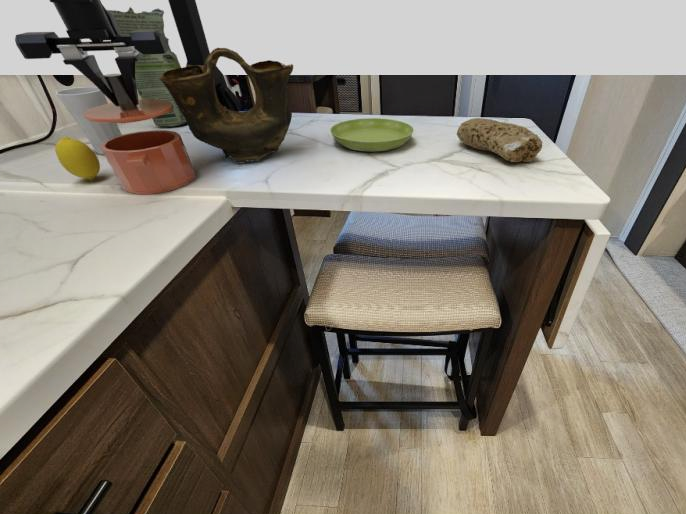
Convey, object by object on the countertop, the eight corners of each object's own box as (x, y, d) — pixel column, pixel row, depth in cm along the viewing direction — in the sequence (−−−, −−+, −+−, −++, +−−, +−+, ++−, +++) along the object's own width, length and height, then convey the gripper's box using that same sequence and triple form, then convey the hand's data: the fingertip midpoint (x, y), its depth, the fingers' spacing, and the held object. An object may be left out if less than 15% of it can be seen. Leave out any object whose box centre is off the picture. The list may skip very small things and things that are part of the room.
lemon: (103, 172, 68) (77, 130, 62) (112, 179, 65) (87, 136, 60) (70, 180, 65) (41, 137, 59) (79, 188, 62) (49, 143, 57)
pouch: (144, 127, 91) (86, 7, 74) (171, 116, 100) (125, 6, 83) (181, 129, 90) (132, 7, 73) (206, 118, 99) (166, 6, 82)
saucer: (424, 152, 79) (425, 137, 76) (338, 160, 74) (336, 145, 72) (400, 127, 93) (400, 115, 91) (327, 133, 89) (325, 120, 87)
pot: (198, 160, 73) (183, 124, 68) (193, 194, 61) (174, 152, 56) (133, 168, 70) (112, 130, 65) (114, 205, 57) (86, 161, 52)
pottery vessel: (301, 141, 83) (283, 43, 70) (312, 155, 76) (295, 48, 63) (193, 156, 75) (149, 47, 62) (194, 173, 68) (144, 54, 55)
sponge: (541, 166, 76) (494, 124, 86) (551, 133, 69) (500, 92, 80) (491, 184, 74) (450, 139, 84) (497, 152, 67) (451, 108, 78)
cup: (112, 156, 75) (77, 95, 66) (83, 153, 76) (45, 93, 67) (139, 145, 80) (110, 87, 72) (111, 142, 81) (80, 86, 73)
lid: (177, 103, 66) (162, 66, 62) (171, 121, 57) (153, 79, 52) (97, 109, 62) (76, 70, 58) (76, 130, 53) (49, 85, 49)
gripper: (148, -16, 56) (188, 91, 66) (10, -18, 50) (78, 99, 61) (137, -16, 48) (185, 104, 59) (-26, -19, 43) (58, 114, 54)
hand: (127, 105), depth 58 cm, fingers closed on lid, 3 cm apart
